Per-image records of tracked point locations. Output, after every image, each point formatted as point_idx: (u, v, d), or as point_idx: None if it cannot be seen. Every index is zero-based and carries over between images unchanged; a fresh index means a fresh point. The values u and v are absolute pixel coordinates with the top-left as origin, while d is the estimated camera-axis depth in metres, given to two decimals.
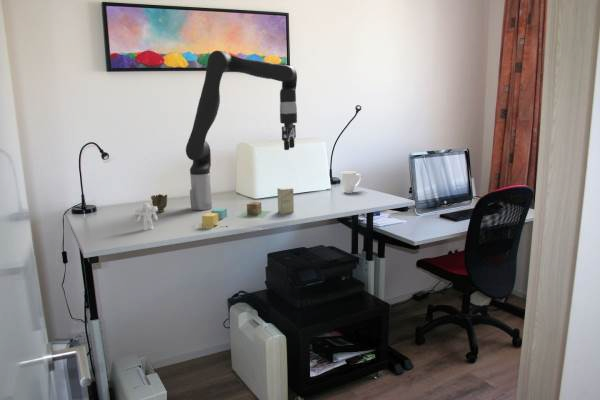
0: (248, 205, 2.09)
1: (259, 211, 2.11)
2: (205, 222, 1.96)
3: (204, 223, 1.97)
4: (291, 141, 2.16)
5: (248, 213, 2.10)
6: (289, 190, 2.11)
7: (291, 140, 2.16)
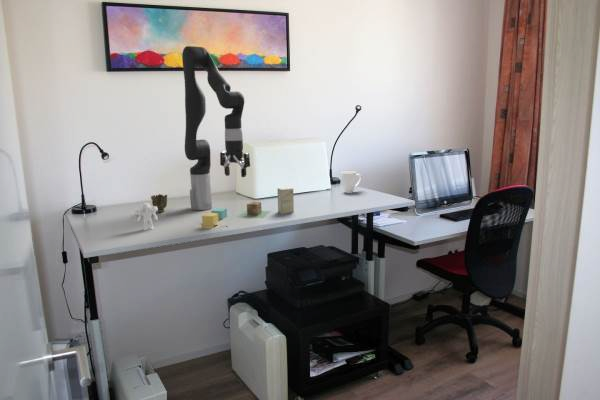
0: (248, 205, 2.09)
1: (259, 211, 2.11)
2: (205, 222, 1.96)
3: (204, 223, 1.97)
4: (227, 169, 2.08)
5: (248, 213, 2.10)
6: (289, 190, 2.11)
7: (227, 168, 2.08)
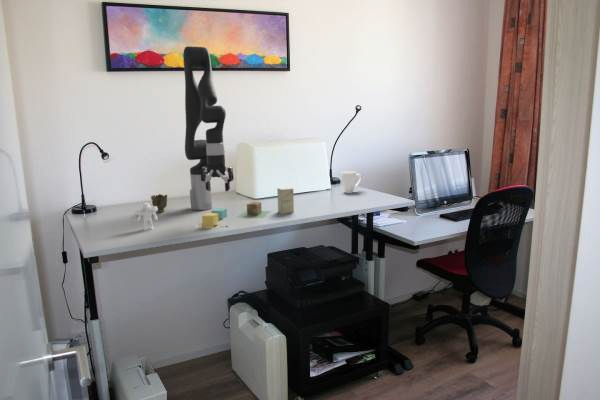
0: (248, 205, 2.09)
1: (259, 211, 2.11)
2: (205, 221, 1.96)
3: (204, 223, 1.97)
4: (209, 184, 2.05)
5: (248, 213, 2.10)
6: (289, 190, 2.11)
7: (208, 183, 2.05)
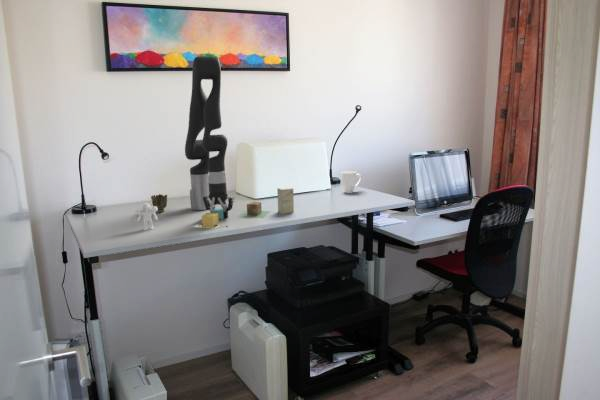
0: (248, 205, 2.09)
1: (259, 211, 2.11)
2: (205, 222, 1.96)
3: (204, 223, 1.97)
4: None
5: (248, 213, 2.10)
6: (289, 190, 2.11)
7: None
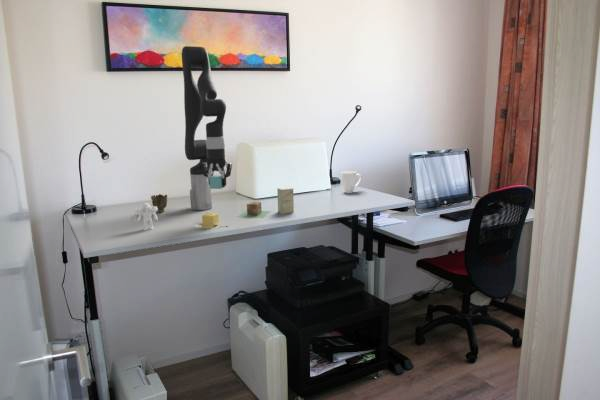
0: (248, 205, 2.09)
1: (259, 211, 2.11)
2: (205, 221, 1.96)
3: (204, 223, 1.97)
4: None
5: (248, 213, 2.10)
6: (289, 190, 2.11)
7: None
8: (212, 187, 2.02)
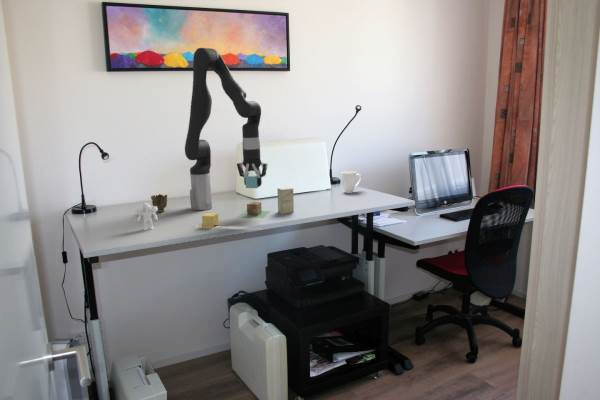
0: (248, 205, 2.09)
1: (259, 211, 2.11)
2: (205, 221, 1.96)
3: (204, 223, 1.97)
4: None
5: (248, 213, 2.10)
6: (289, 190, 2.11)
7: None
8: (248, 186, 2.07)
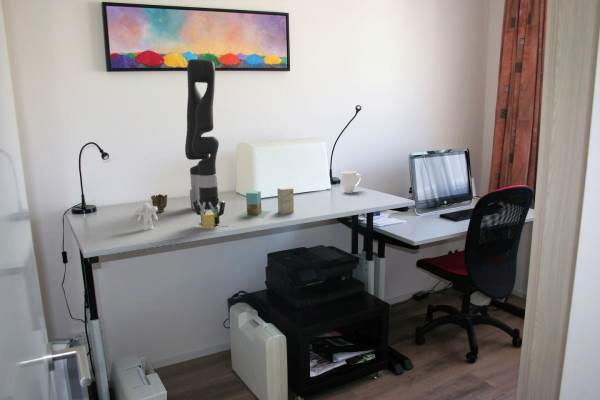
0: (248, 205, 2.09)
1: (259, 211, 2.11)
2: (204, 221, 1.96)
3: (204, 223, 1.97)
4: None
5: (248, 213, 2.10)
6: (289, 190, 2.11)
7: None
8: (249, 203, 2.09)
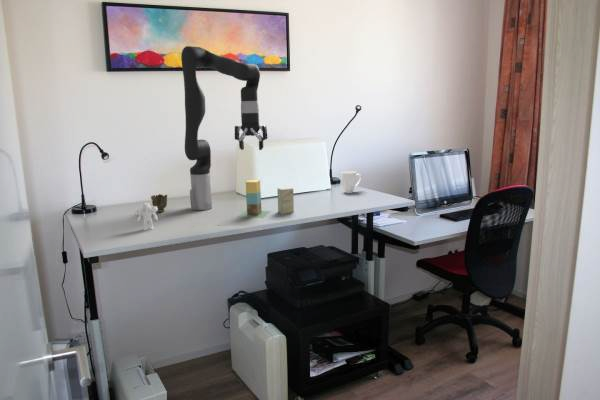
0: (248, 205, 2.09)
1: (259, 211, 2.11)
2: (248, 187, 2.07)
3: (247, 189, 2.08)
4: (242, 142, 2.06)
5: (248, 213, 2.10)
6: (289, 190, 2.11)
7: (242, 141, 2.06)
8: (249, 203, 2.09)
